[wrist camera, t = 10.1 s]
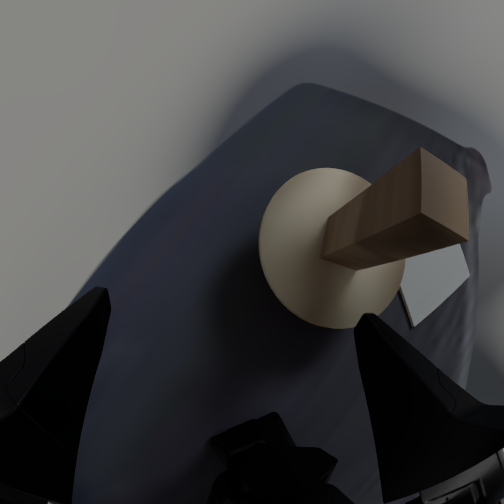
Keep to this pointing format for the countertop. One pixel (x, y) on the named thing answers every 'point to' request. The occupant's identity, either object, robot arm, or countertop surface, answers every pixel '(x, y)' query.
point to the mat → (431, 280)
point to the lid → (357, 235)
